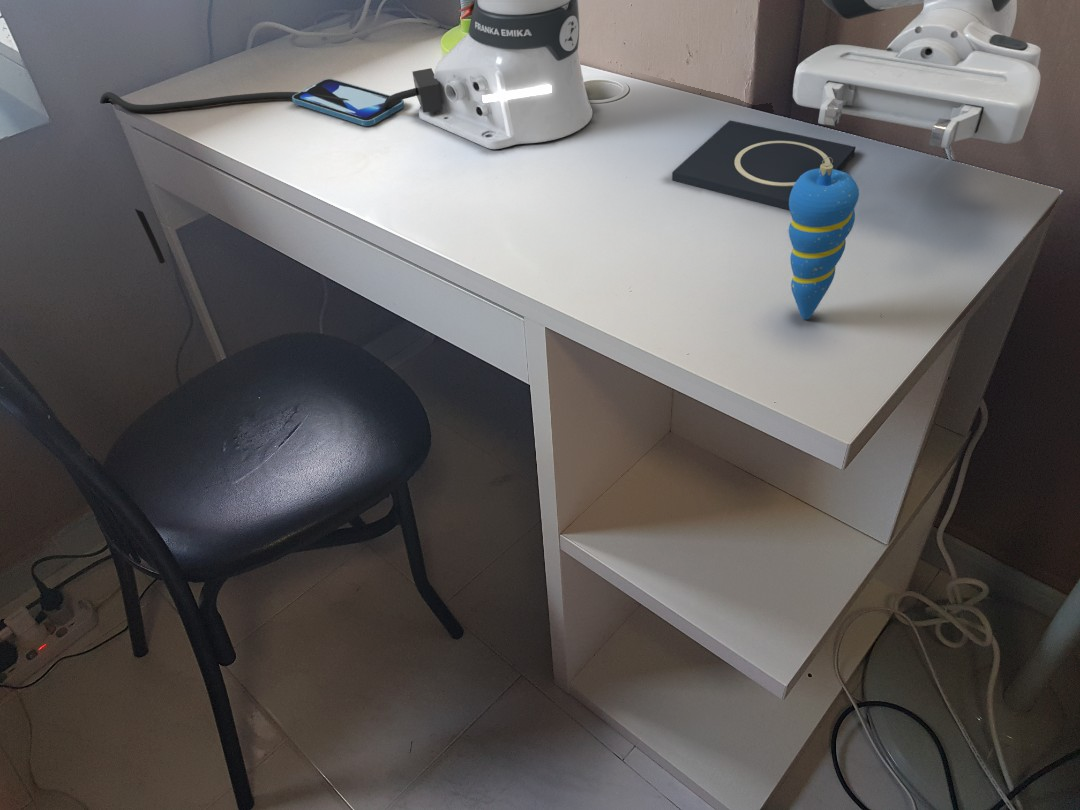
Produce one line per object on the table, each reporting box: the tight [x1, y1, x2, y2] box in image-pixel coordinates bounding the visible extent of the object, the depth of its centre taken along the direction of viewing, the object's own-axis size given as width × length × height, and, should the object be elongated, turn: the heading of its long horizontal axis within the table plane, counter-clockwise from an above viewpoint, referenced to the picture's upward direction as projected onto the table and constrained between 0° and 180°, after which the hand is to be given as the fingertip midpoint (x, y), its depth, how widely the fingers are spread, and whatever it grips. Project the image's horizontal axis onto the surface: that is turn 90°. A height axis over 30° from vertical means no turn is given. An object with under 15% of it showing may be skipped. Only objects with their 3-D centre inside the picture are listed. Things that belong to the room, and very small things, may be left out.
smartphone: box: [291, 78, 405, 127], centre depth 112 cm, size 7×1×15 cm
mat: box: [671, 119, 856, 211], centre depth 91 cm, size 15×14×1 cm
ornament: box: [788, 157, 860, 320], centre depth 67 cm, size 5×5×15 cm
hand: (881, 127), depth 71 cm, fingers open, 8 cm apart
